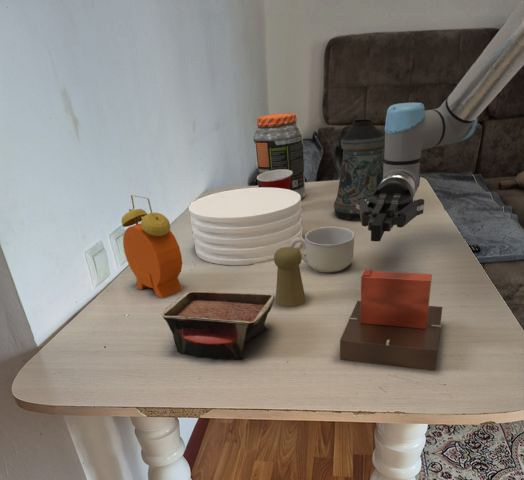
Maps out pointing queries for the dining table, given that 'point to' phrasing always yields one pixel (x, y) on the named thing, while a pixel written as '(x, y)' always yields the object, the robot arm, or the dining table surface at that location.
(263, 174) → the plastic cup
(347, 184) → the beer stein
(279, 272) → the olive pepper shaker
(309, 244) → the teacup
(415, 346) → the brown square platform
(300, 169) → the supplement tub
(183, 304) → the baking dish
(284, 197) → the plate stack
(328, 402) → the dining table surface
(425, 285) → the orange-red rectangular block
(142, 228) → the alarm clock
